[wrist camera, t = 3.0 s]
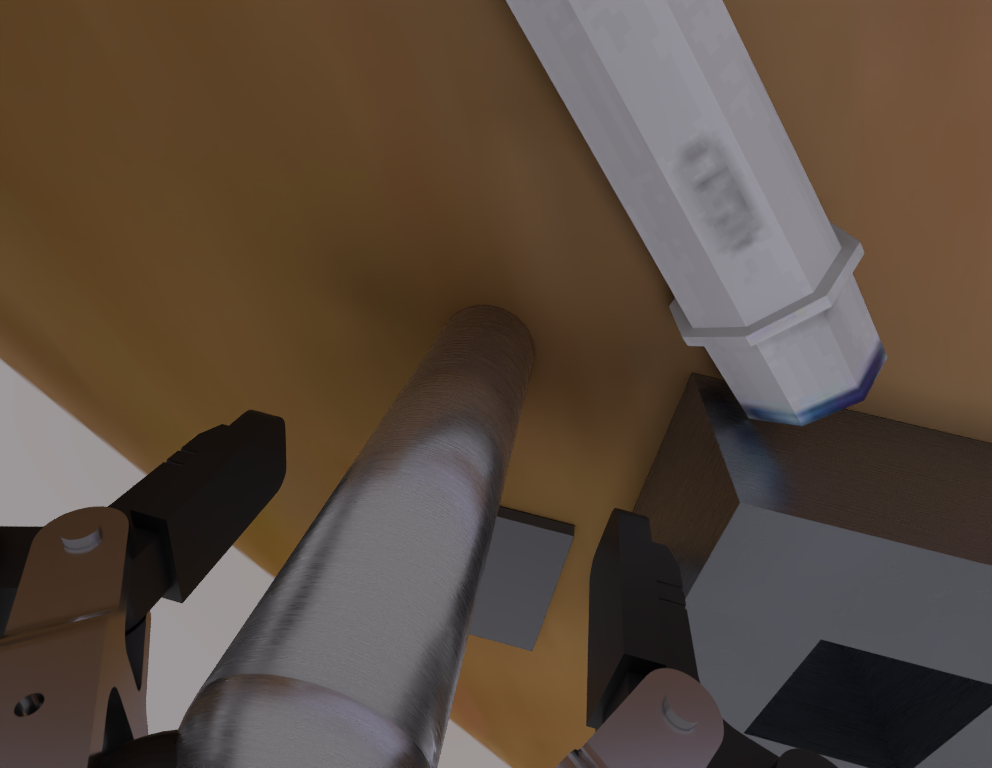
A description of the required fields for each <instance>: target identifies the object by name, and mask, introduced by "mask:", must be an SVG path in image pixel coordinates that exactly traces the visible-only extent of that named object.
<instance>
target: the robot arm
mask: <svg viewBox="0 0 992 768" xmlns="http://www.w3.org/2000/svg"><path fill="white" fill-rule="evenodd" d="M285 473H286V436H285V422H284V420H283V418H281V417H278V416H274V415H270V414H266V413H263V412H259V411H255V410H248V411H246V412H245V413H244V414H242V415H241V416H240V417H239V418H238V419H237V420H235V421H234V422H233V423H232V424H231V425H229V426H227V425H223V424H221V425H219V426H217V427H214V428H212V429H210V430H207V431H205V432H203V433H200V434H198V435H197V436H196V437H195V438H193V439H192V440H191V441H190V442H188V443H187V444H186V445H185V446H183V447H182V449H181V451H177V452H176V453H175V454H173V455H172V456H171V457H170V458H168V459H167V462H166V463H164V462H163V463H162V464H161V465H160V466H158V467H157V468H156V469H155V470H153V471H152V472H151V473H150V474H148V475H147V476H146V477H145V478H143V479H142V480H141V481H140V482H138V483H137V484H136V485H134V486H133V487H132V488H131V489H130V490H129V491H127V492H126V493H125V494H123V495H122V496H121V497H120V498H118V499H117V500H116V501H114V502H113V503H112V504H111V505H109V506H108V507H88V508H83V509H79V510H75V511H72V512H69V513H66V514H64V515H62V516H60V517H58V518H56V519H54V520H53V521H51V522H49V523H48V524H47V525H46V526H44V527H7V526H6V527H3V526H1V527H0V768H176V765H177V744H176V743H177V739H178V730H171V731H163V732H159V733H155V734H151V735H148V725H147V716H146V691H147V675H148V659H149V643H150V628H151V613H150V609H151V608H152V607H153V606H154V605H155V604H156V603H157V602H158V601H159V599H160V598H161V597H163V598H166V599H169V600H173V601H176V602H180V603H183V602H184V601H185V600H186V598H187V597H188V596H189V595H190V594H191V593H192V591H193V590H194V589H195V588H196V587H197V586H198V584H199V583H200V582H201V581H202V580H203V579H204V577H205V576H206V575H207V574H208V573H209V571H210V570H211V569H212V568H213V567H214V566H215V565H216V563H217V562H218V561H219V560H220V559H221V557H222V556H223V555H224V554H225V553H226V552H227V550H228V549H229V548H230V547H231V546H232V545H233V543H234V542H235V541H236V540H237V539H238V538H239V536H240V535H241V534H242V533H243V532H244V531H245V529H246V528H247V527H248V526H249V525H250V523H251V522H252V521H253V520H254V519H255V518H256V516H257V515H258V514H259V513H260V512H261V511H262V509H263V508H264V507H265V506H266V505H267V504H268V502H269V501H270V500H271V499H272V498H273V497H274V495H275V494H276V493H277V492H278V490H279V489H280V487H281V485H282V483H283V480H284V477H285ZM682 590H683V584H682V578H681V573H680V567H679V565H678V563H677V562H676V560H675V558H674V557H673V555H672V553H671V552H670V550H669V548H668V547H667V546H666V545H662V544H659V543H655V542H652V539H651V530H650V522H649V518H648V517H647V516H644V515H640V514H636V513H632V512H629V511H625V510H621V509H617V508H615V509H614V510H613V511H612V513H611V516H610V518H609V521H608V523H607V526H606V528H605V530H604V533H603V535H602V538H601V540H600V543H599V545H598V548H597V550H596V553H595V556H594V559H593V563H592V568H591V574H590V592H589V635H588V678H587V721H586V726H588V727H592V728H595V729H598V730H597V731H596V732H595V733H594V735H593V736H592V737H591V738H590V739H589V740H588V741H587V742H586V743H585V745H584V746H583V747H582V748H580V749H579V750H578V751H577V750H576V749H575V750H573V751H572V752H571V753H570V754H568V755H567V756H566V757H565V758H564V759H563V760H562V761H561V762H560V764H559V765H558V766H557V767H556V768H838V767H837V766H836V765H834V764H833V763H832V762H830V761H829V760H828V759H826V758H824V757H823V756H821V755H819V754H817V753H815V752H813V751H810V750H806V749H799V748H795V749H790V750H788V751H786V752H784V753H783V754H782V755H781V756H780V757H779V756H777V755H775V754H774V753H772V752H771V751H769V750H767V749H766V748H764V747H762V746H761V745H759V744H758V743H756V742H754V741H753V740H751V739H750V738H748V737H746V736H745V735H743V734H742V733H740V732H739V731H737V730H736V729H734V728H733V727H732V726H731V725H730V724H728V723H727V722H726V721H725V720H724V719H723V718H722V716H721V713H720V710H719V708H718V706H717V704H716V702H715V701H714V699H713V698H712V696H711V695H710V694H709V692H708V691H707V690H706V689H705V688H704V687H703V686H702V685H701V684H700V680H699V676H698V670H697V665H696V659H695V653H694V647H693V642H692V636H691V630H690V624H689V619H688V613H687V609H685V607H686V601H685V596H684V592H683V591H682Z"/></svg>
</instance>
